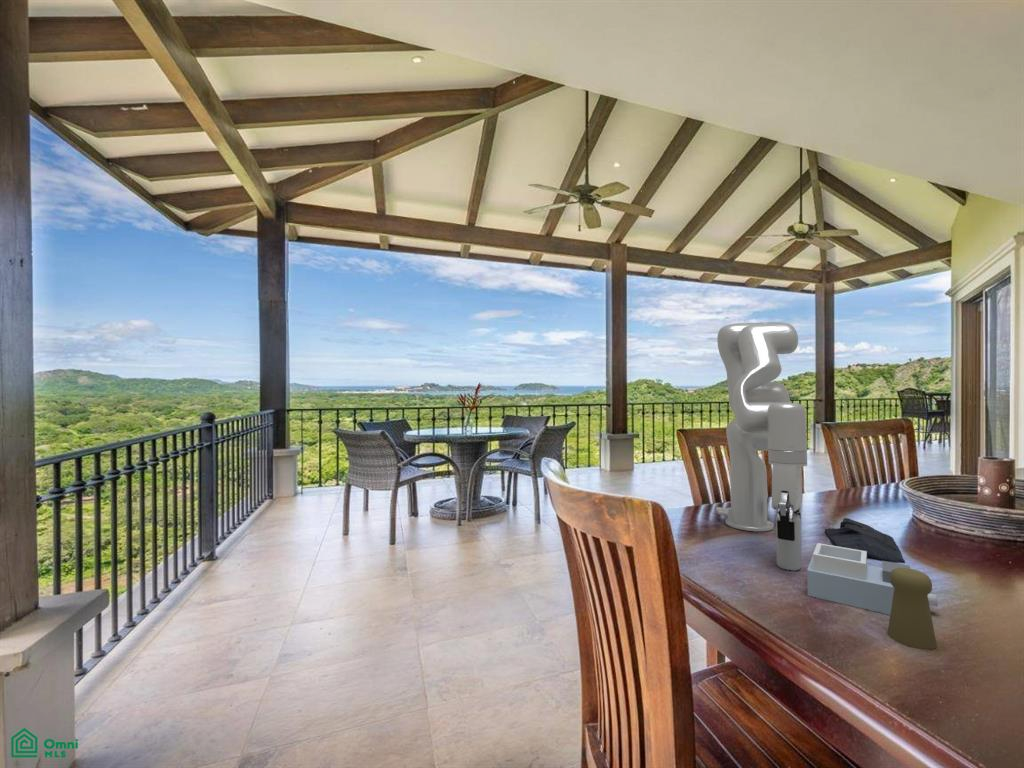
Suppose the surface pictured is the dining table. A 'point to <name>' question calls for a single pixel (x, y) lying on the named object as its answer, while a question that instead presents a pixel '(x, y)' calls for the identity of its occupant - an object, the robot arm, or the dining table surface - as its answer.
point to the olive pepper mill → (911, 609)
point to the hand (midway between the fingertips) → (789, 534)
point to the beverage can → (790, 548)
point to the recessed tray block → (852, 579)
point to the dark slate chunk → (865, 540)
